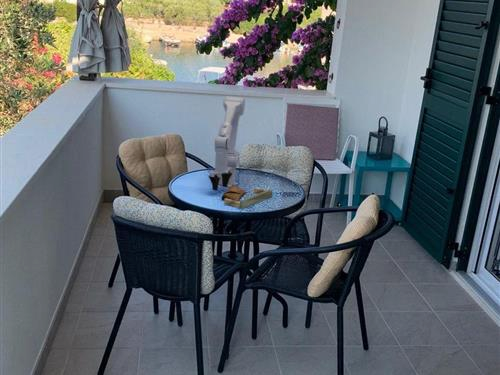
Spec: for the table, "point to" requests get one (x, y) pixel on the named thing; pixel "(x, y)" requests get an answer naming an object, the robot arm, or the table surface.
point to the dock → (250, 199)
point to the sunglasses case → (233, 193)
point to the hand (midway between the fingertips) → (219, 188)
